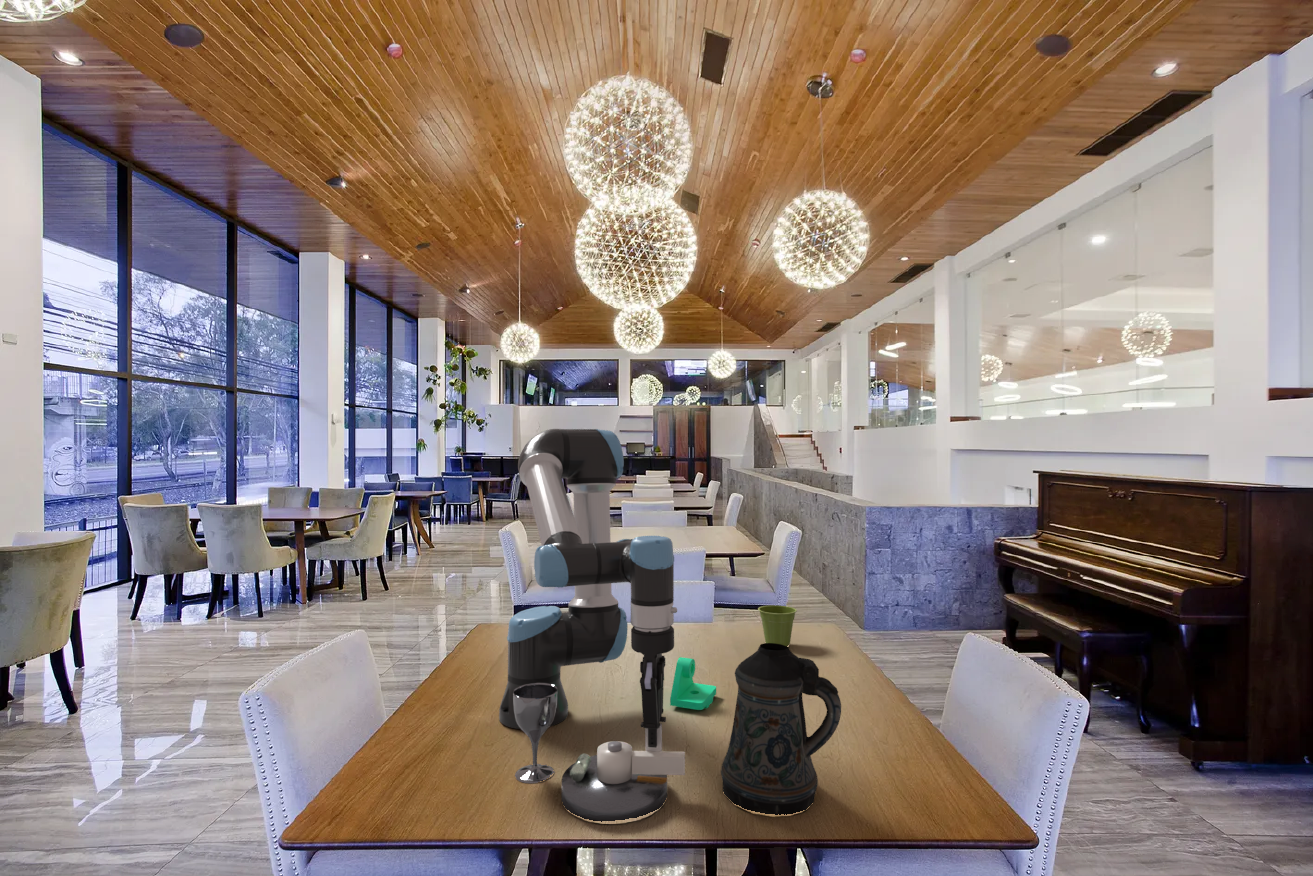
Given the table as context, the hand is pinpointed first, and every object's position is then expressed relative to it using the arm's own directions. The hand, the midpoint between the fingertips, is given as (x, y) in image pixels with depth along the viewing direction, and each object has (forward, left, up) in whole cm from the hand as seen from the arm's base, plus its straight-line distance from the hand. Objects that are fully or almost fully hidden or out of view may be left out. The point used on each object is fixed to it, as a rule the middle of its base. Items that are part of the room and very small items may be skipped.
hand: (653, 762), depth 110 cm
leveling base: (-6, -3, -5) cm, 8 cm away
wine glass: (-22, +3, -5) cm, 23 cm away
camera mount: (+3, +41, -5) cm, 41 cm away
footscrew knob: (-2, -2, -1) cm, 3 cm away
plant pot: (+25, +90, -5) cm, 94 cm away
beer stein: (+21, +3, -5) cm, 22 cm away
